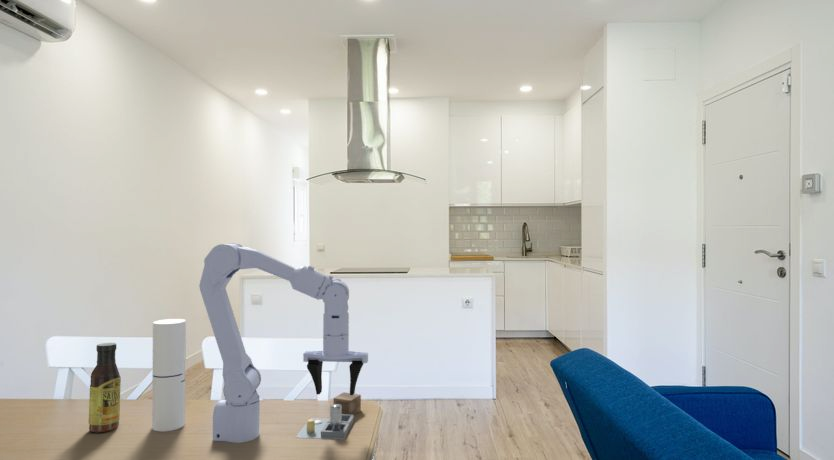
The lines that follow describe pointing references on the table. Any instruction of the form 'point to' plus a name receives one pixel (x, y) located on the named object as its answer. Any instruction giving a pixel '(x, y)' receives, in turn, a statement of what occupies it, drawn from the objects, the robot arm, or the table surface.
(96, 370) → the sauce bottle
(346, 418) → the board
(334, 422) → the pin
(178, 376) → the cylindrical container
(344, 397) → the wooden toy block
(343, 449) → the table surface
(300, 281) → the robot arm
